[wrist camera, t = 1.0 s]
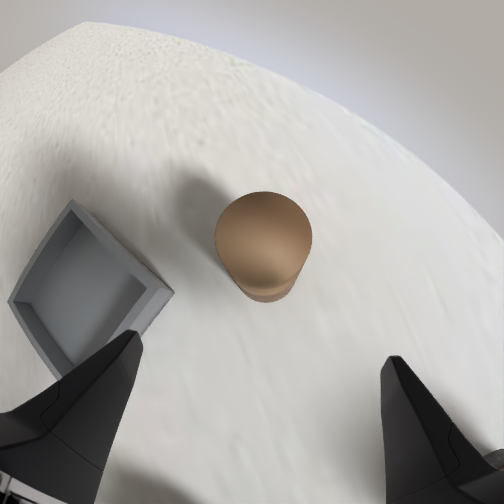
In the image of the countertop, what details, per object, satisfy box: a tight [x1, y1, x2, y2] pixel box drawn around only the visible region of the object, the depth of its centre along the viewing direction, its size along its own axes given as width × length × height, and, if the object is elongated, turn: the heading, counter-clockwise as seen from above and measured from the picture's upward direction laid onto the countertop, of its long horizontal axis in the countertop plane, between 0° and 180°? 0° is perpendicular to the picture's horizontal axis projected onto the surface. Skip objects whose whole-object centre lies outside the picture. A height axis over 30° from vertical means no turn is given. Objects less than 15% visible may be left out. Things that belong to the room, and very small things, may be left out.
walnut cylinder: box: [215, 192, 312, 303], centre depth 20 cm, size 5×5×10 cm
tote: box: [7, 199, 174, 381], centre depth 23 cm, size 14×14×4 cm
